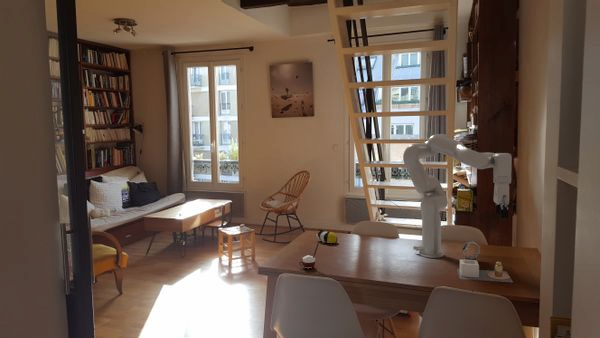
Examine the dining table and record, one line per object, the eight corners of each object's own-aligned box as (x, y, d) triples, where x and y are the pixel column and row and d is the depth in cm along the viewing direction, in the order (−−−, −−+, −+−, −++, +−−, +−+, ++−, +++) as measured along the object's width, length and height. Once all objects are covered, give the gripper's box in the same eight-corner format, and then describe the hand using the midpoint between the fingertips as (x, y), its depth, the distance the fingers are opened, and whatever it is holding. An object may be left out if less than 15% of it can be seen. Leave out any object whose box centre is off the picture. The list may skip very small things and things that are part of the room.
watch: (461, 262, 209) (461, 240, 208) (478, 262, 208) (478, 240, 207) (463, 265, 204) (463, 243, 203) (480, 266, 202) (481, 243, 202)
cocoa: (298, 270, 205) (296, 246, 204) (303, 265, 211) (301, 242, 210) (317, 270, 202) (315, 246, 201) (321, 266, 208) (319, 242, 206)
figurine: (321, 239, 262) (321, 226, 261) (340, 243, 252) (340, 229, 251) (312, 241, 256) (312, 228, 255) (331, 246, 246) (331, 232, 245)
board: (459, 282, 182) (459, 269, 182) (456, 271, 195) (456, 260, 195) (513, 285, 176) (513, 272, 176) (506, 274, 190) (506, 262, 189)
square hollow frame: (461, 276, 185) (461, 264, 184) (459, 271, 192) (459, 259, 191) (478, 277, 183) (478, 265, 183) (476, 272, 190) (476, 260, 189)
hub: (488, 278, 181) (489, 264, 181) (485, 272, 190) (485, 258, 189) (511, 280, 179) (512, 265, 178) (507, 273, 187) (507, 259, 187)
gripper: (489, 177, 206) (489, 212, 207) (497, 181, 189) (497, 219, 190) (506, 177, 204) (505, 212, 205) (516, 181, 187) (515, 219, 189)
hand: (501, 215), depth 198 cm, fingers open, 9 cm apart
